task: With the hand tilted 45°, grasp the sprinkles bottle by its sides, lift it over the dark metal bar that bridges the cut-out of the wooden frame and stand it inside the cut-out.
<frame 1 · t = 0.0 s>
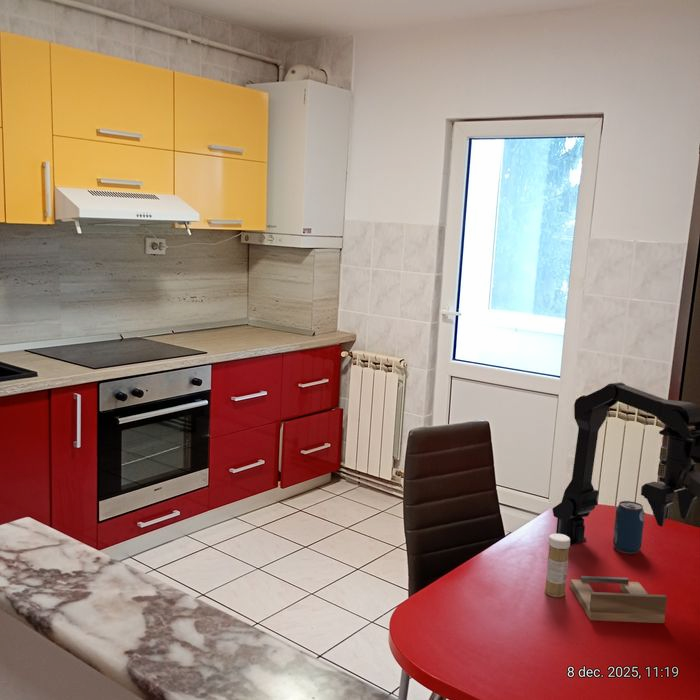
hand: (672, 522, 176), 15 cm above the table, tool pointing down, fingers open, 9 cm apart
sprinkles bottle: (554, 594, 170), on the table
wooden frame: (610, 598, 168), on the table
soda can: (626, 549, 196), on the table
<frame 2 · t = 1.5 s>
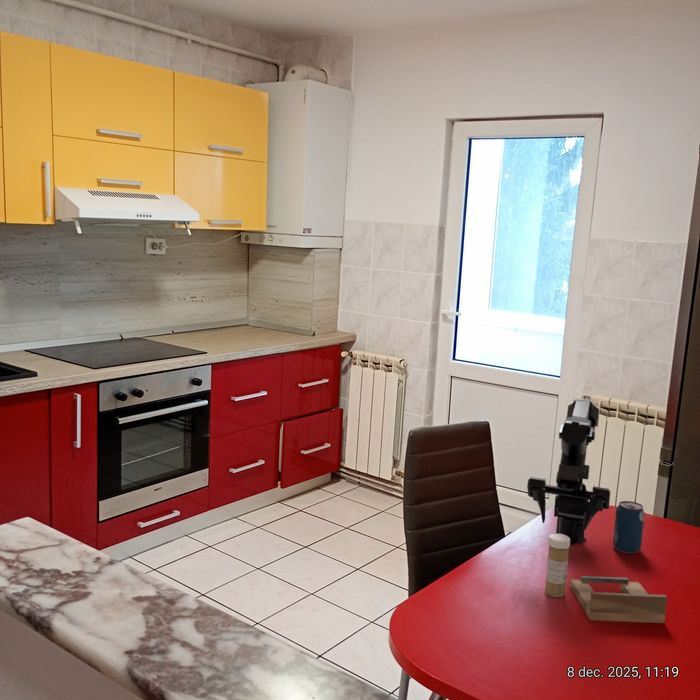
hand: (563, 525, 175), 13 cm above the table, tool tilted 45°, fingers open, 9 cm apart
nothing on the table moved.
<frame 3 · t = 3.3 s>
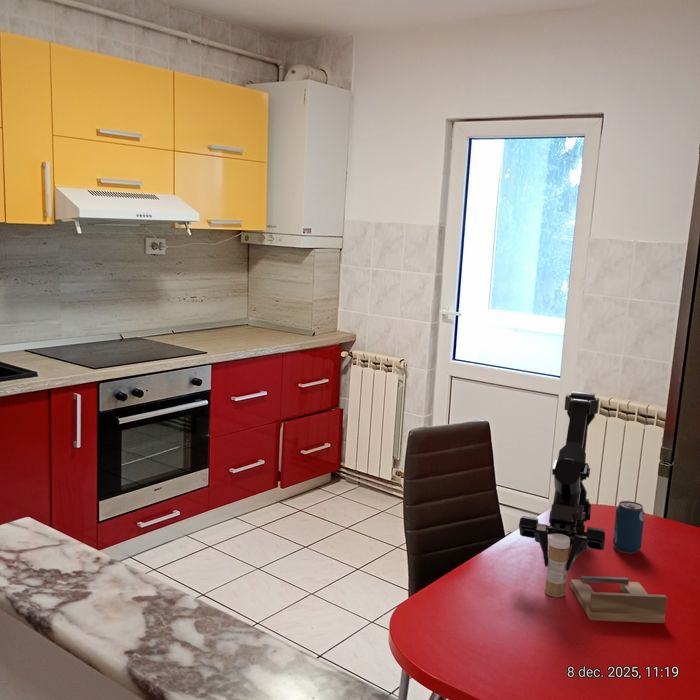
hand: (556, 568, 167), 7 cm above the table, tool tilted 45°, fingers closed on sprinkles bottle, 4 cm apart
sprinkles bottle: (554, 594, 170), on the table, touching gripper
everything else where it was.
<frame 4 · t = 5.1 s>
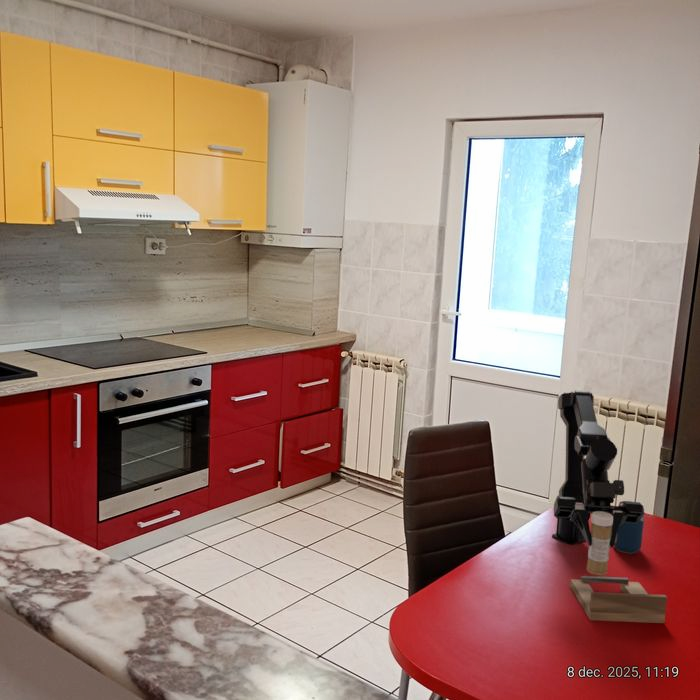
hand: (601, 546, 165), 13 cm above the table, tool tilted 45°, fingers closed on sprinkles bottle, 4 cm apart
sprinkles bottle: (596, 572, 168), point 6 cm above the table, touching gripper
everything else where it was.
when the fingers open (7 cm above the table, at t = 6.7 s): sprinkles bottle stays where it is, resting in wooden frame.
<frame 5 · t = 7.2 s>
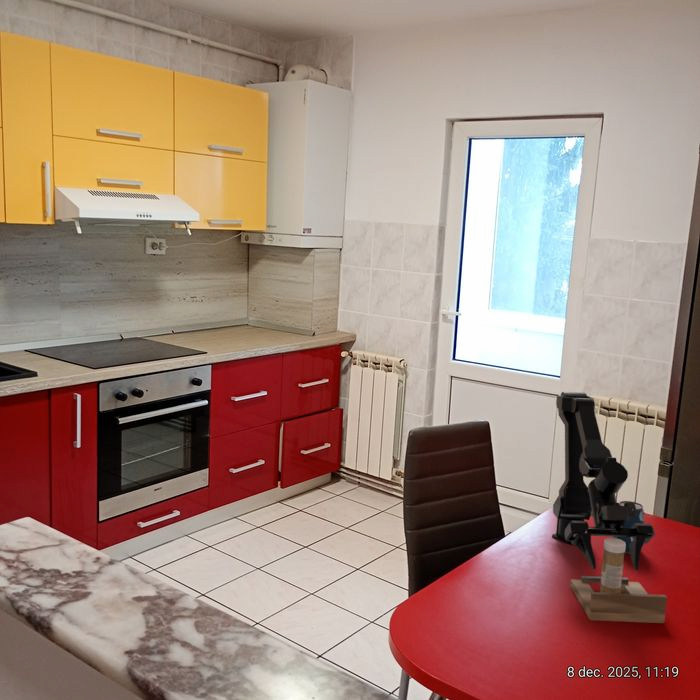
hand: (615, 569, 166), 8 cm above the table, tool tilted 45°, fingers open, 9 cm apart
sprinkles bottle: (609, 599, 169), resting in wooden frame
everything else where it was.
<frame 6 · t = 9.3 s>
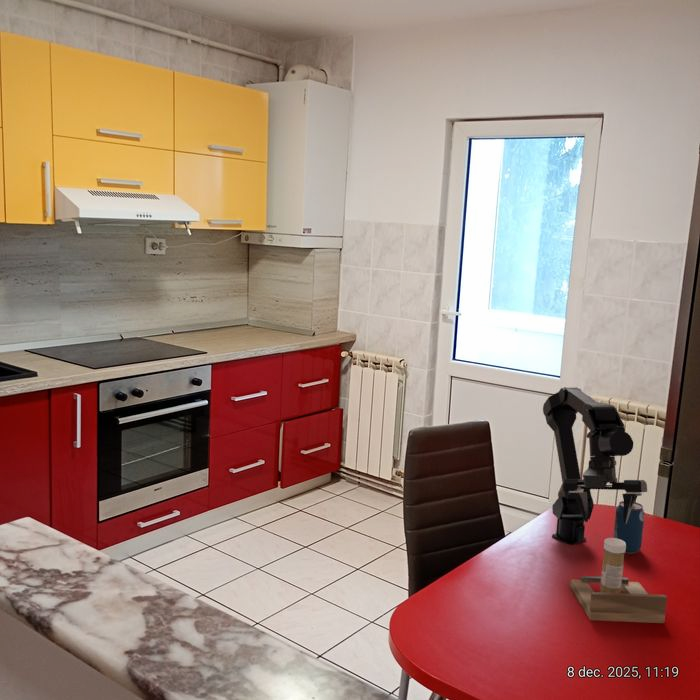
hand: (605, 522, 180), 12 cm above the table, tool tilted 20°, fingers open, 9 cm apart
nothing on the table moved.
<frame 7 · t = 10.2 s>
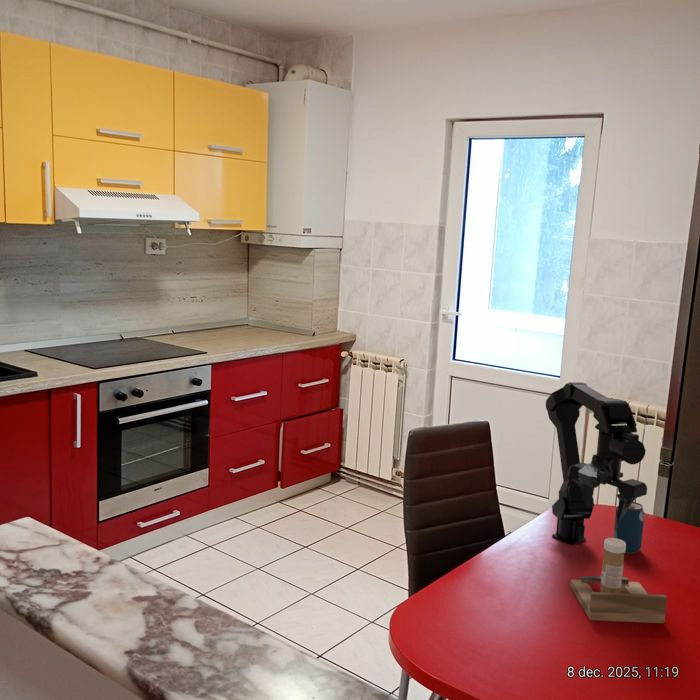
hand: (603, 513, 184), 13 cm above the table, tool pointing down, fingers open, 9 cm apart
nothing on the table moved.
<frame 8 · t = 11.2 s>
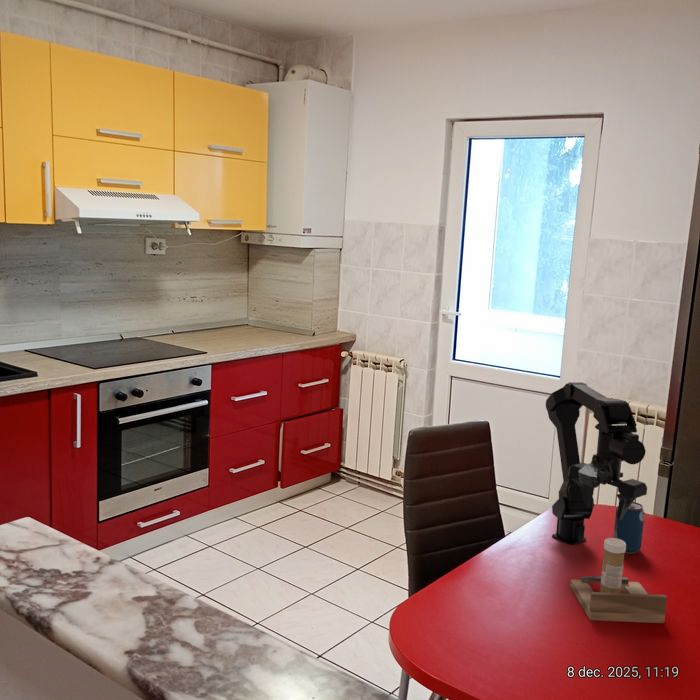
hand: (603, 513, 184), 13 cm above the table, tool pointing down, fingers open, 9 cm apart
nothing on the table moved.
at the end: sprinkles bottle 0.2 cm from the wooden frame (horizontally); sprinkles bottle tilted 0°; the gripper is holding nothing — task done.
